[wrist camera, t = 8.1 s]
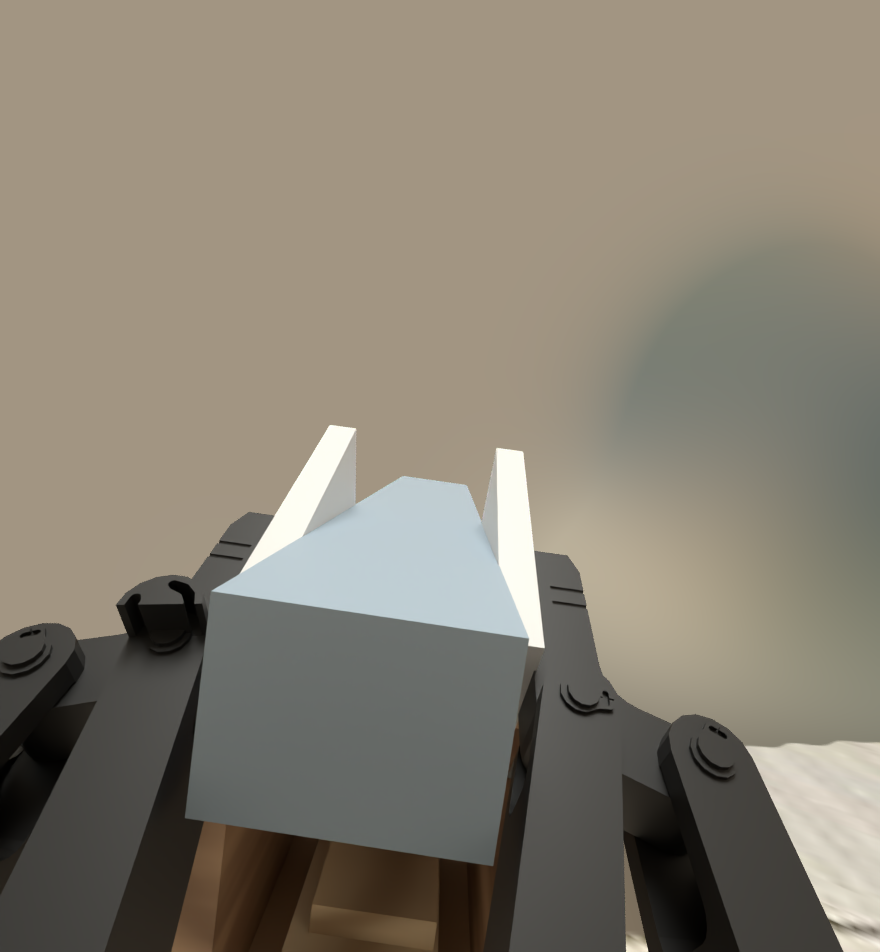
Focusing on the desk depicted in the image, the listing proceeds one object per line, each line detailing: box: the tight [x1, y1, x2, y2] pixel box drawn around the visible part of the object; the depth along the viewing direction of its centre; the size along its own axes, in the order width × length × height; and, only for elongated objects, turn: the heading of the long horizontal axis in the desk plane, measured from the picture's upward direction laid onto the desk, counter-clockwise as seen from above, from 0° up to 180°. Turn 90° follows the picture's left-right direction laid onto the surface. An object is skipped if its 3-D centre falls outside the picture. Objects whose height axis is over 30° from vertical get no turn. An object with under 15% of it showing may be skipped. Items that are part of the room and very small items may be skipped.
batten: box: [185, 476, 529, 866], centre depth 18 cm, size 4×24×3 cm, turn 179°
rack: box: [171, 721, 520, 952], centre depth 21 cm, size 12×12×32 cm
